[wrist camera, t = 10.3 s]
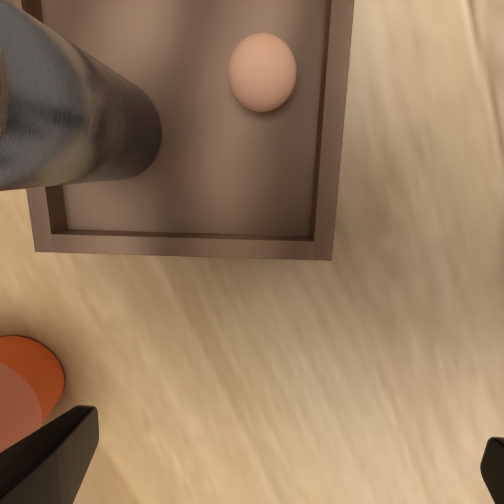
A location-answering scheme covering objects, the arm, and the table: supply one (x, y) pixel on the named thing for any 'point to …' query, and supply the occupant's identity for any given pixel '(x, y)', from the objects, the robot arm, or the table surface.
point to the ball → (262, 72)
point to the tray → (208, 132)
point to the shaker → (66, 111)
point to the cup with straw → (26, 387)
